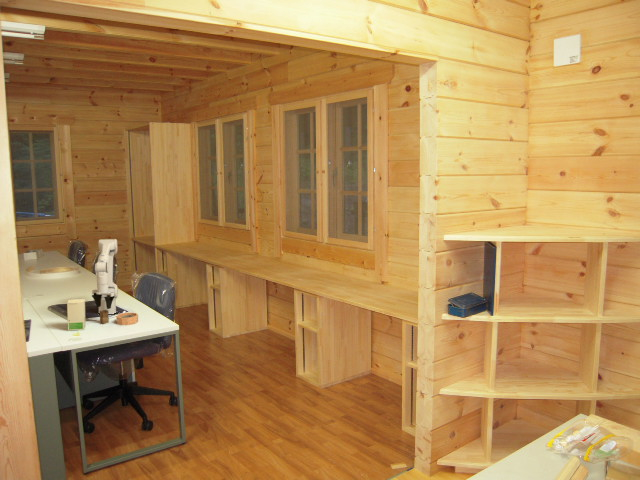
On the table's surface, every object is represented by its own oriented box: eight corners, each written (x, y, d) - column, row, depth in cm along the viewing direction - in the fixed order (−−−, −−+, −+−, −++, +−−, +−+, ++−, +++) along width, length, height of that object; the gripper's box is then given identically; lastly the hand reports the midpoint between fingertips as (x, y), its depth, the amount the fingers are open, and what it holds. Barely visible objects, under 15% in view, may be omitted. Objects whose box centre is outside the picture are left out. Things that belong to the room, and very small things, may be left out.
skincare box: (67, 331, 287) (66, 302, 284) (69, 327, 293) (68, 299, 291) (84, 330, 289) (83, 301, 287) (86, 326, 295) (84, 298, 293)
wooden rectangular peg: (100, 323, 300) (99, 311, 299) (105, 321, 304) (105, 309, 303) (103, 324, 299) (102, 312, 298) (108, 322, 303) (108, 310, 302)
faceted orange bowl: (112, 323, 301) (112, 316, 300) (127, 318, 311) (127, 311, 310) (127, 326, 296) (127, 319, 295) (142, 321, 306) (141, 314, 305)
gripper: (87, 283, 298) (88, 307, 299) (106, 286, 291) (107, 311, 293) (97, 281, 304) (98, 304, 306) (116, 283, 298) (117, 308, 300)
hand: (103, 307), depth 300 cm, fingers open, 7 cm apart
